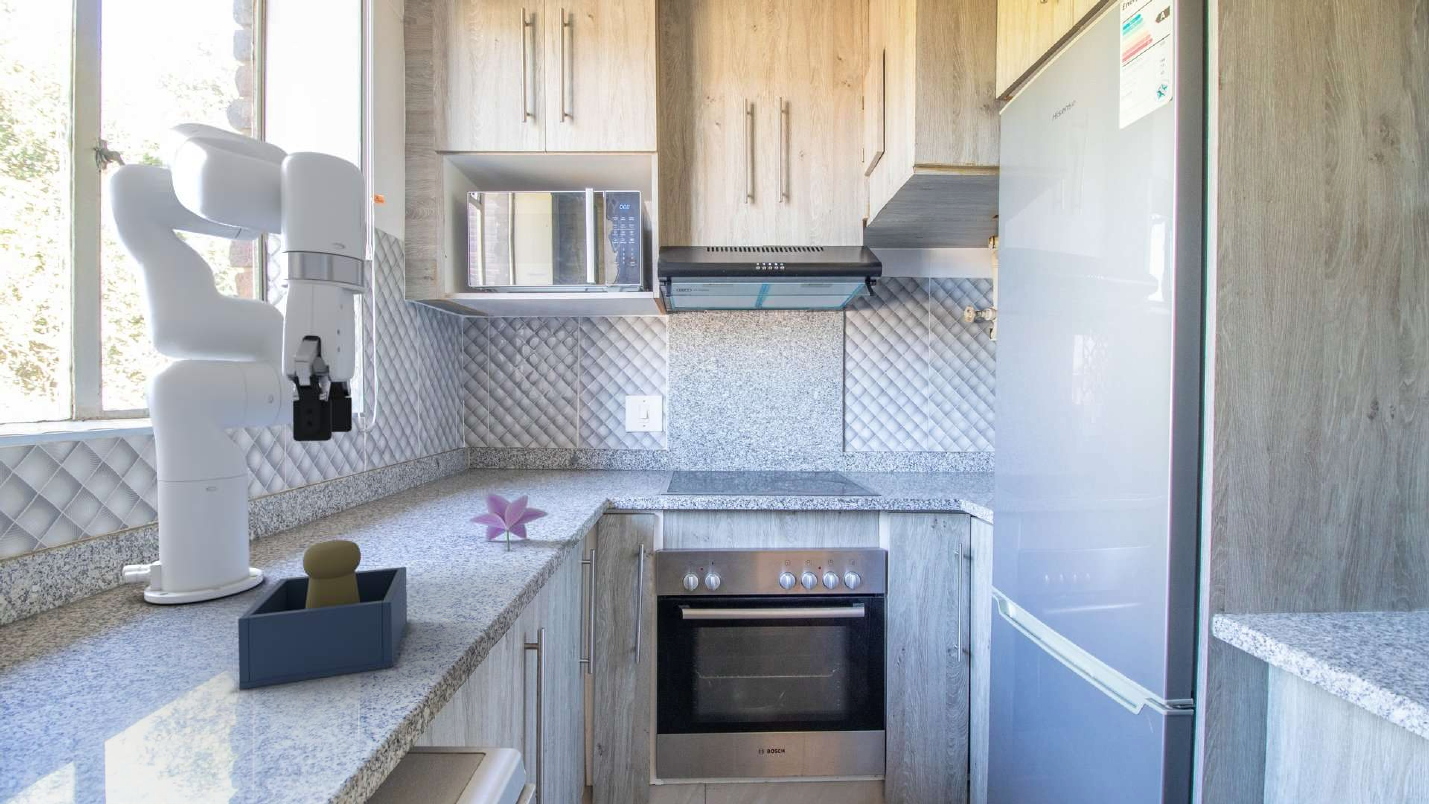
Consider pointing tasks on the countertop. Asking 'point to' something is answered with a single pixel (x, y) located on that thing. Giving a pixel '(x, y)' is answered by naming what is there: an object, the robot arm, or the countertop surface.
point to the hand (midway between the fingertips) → (325, 435)
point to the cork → (332, 573)
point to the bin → (322, 631)
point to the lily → (507, 516)
